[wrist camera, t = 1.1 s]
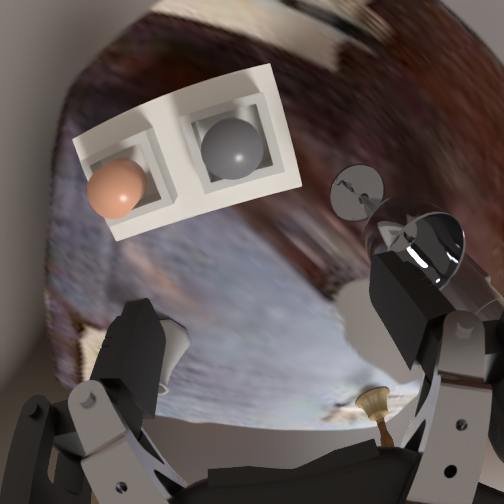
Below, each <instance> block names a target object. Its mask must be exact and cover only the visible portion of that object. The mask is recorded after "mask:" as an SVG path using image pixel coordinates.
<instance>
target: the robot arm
mask: <svg viewBox="0 0 504 504" xmlns="http://www.w3.org/2000/svg"><path fill="white" fill-rule="evenodd" d="M490 281H491V278H490V276H489V275H488V274H487V273H486V272H485V271H484V270H483V269H482V268H481V267H480V266H479V265H478V264H477V263H476V262H475V261H474V260H473V259H472V258H471V257H470V256H469V255H468V254H467V253H465V252H464V256H463V259H462V262H461V264H460V266H459V269H458V270H457V272H456V274H455V275H454V277H453V278H452V279H451V281H450V282H449V283H448V284H447V285H446V286H445V287H444V288H443V289H442V290H441V291H440V290H439V289H438V288H437V287H436V286H435V285H433V282H432V281H431V280H430V279H429V278H427V276H426V274H425V273H424V272H423V271H422V270H421V269H420V268H419V267H417V266H416V265H414V264H412V263H410V262H408V261H405V262H403V260H402V259H401V258H400V257H399V256H398V255H397V254H396V253H395V252H394V251H387V252H383V253H379V254H374V255H373V256H372V259H371V272H370V286H369V294H370V299H371V302H372V305H373V307H374V308H375V310H376V312H377V313H378V315H379V317H380V318H381V320H382V322H383V323H384V325H385V327H386V329H387V330H388V332H389V334H390V335H391V337H392V339H393V341H394V342H395V344H396V346H397V348H398V350H399V351H400V353H401V355H402V357H403V358H404V360H405V362H406V364H407V366H408V368H409V369H410V371H412V370H415V369H418V368H420V367H422V369H423V371H424V374H423V377H422V381H421V385H420V389H419V393H418V397H417V401H416V405H415V408H414V412H413V415H412V419H411V422H410V425H409V427H408V429H407V432H406V434H405V436H404V438H403V441H402V443H401V446H400V447H393V446H378V447H377V446H376V443H375V440H374V439H371V440H368V441H365V442H361V443H358V444H355V445H352V446H348V447H344V448H341V449H338V450H334V451H332V452H330V453H328V454H326V455H324V456H322V457H320V458H318V459H316V460H314V461H311V462H309V463H307V464H305V465H303V466H300V467H298V468H295V469H275V468H263V467H252V466H244V467H233V468H219V469H208V478H206V479H202V480H200V481H197V482H195V483H193V484H191V485H189V486H188V485H187V483H186V482H185V481H184V480H183V479H182V478H181V477H180V476H179V475H178V474H177V473H176V472H175V471H174V470H173V469H172V468H171V467H170V466H169V465H168V463H167V462H166V461H165V459H164V458H163V456H162V455H161V454H160V452H159V451H158V450H157V448H156V447H155V445H154V444H153V442H152V441H151V439H150V438H149V437H148V435H147V434H146V432H145V431H144V429H143V428H142V427H141V426H142V419H154V417H155V410H156V403H157V396H158V389H159V383H160V377H161V370H162V364H163V358H164V353H165V347H166V336H165V332H164V329H163V327H162V325H161V323H160V321H159V319H158V316H157V314H156V312H155V310H154V308H153V306H152V304H151V302H150V300H149V299H148V298H142V299H136V300H130V301H127V302H126V304H125V307H124V309H123V312H122V314H121V316H117V317H116V319H115V320H114V321H113V322H112V323H111V325H110V326H109V328H108V330H107V333H106V335H105V339H104V341H103V343H102V348H100V351H99V354H98V357H97V359H96V362H95V365H94V368H93V371H92V374H91V377H90V379H89V380H88V381H84V382H82V383H80V384H79V385H77V386H76V387H75V388H74V389H73V390H72V392H71V394H70V396H69V399H68V400H65V401H61V402H58V403H53V404H52V403H51V402H50V401H49V400H48V399H47V398H46V397H45V396H43V395H35V396H32V397H31V398H29V399H28V401H26V403H25V404H24V406H23V407H22V410H21V413H20V416H19V419H18V422H17V425H16V429H15V432H14V436H13V439H12V443H11V447H10V450H9V454H8V458H7V463H6V467H5V472H4V477H3V482H2V488H1V494H0V504H91V492H92V490H93V492H94V494H95V495H96V498H97V500H98V502H99V503H100V504H504V492H502V491H499V490H496V489H494V488H492V487H489V486H487V485H484V484H482V483H480V482H478V481H479V477H480V473H481V468H482V464H483V459H484V454H485V449H486V443H487V437H488V438H489V440H490V442H491V445H492V447H493V449H494V451H495V453H496V454H497V456H498V457H499V459H500V460H501V461H502V462H503V463H504V298H503V297H502V296H501V295H500V294H499V293H498V292H497V291H496V290H495V288H494V287H493V286H492V285H491V284H490ZM52 448H54V449H55V450H56V451H58V452H59V453H58V459H57V464H56V470H55V476H54V483H53V484H52V483H51V481H50V480H49V478H48V474H47V469H48V465H49V459H50V454H51V449H52Z"/></svg>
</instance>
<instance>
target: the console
mask: <svg viewBox="0 0 504 504" xmlns="http://www.w3.org/2000/svg"><path fill="white" fill-rule="evenodd" d="M232 117H233V118H240V119H243V120H246V121H247V122H249V123H250V124H252V125H253V126H254V128H255V129H256V130H257V132H258V133H259V135H260V137H261V139H262V142H263V157H262V160H261V162H260V164H259V166H258V167H257V168H256V169H255V171H253V172H252V173H251V174H250V175H248V176H246V177H244V178H241V179H236V180H228V179H223V178H220V177H218V176H216V175H214V174H213V173H211V172H210V171H209V170H208V169H207V167H206V166H205V164H204V162H203V160H202V156H201V144H202V140H203V138H204V136H205V134H206V133H207V132H208V130H209V129H210V128H211V127H212V126H213V125H214V124H215V123H217V122H218V121H220V120H222V119H225V118H232ZM72 140H73V143H74V145H75V148H76V151H77V153H78V156H79V159H80V163H81V165H82V168H83V170H84V173H85V175H86V178H87V180H88V182H89V179H90V177H91V176H92V174H93V173H94V172H95V171H97V170H98V169H100V168H101V167H103V166H105V165H106V164H108V163H110V162H111V161H113V160H115V159H119V158H127V159H131V160H133V161H135V162H136V163H138V164H139V165H140V166H141V168H142V169H143V171H144V173H145V176H146V180H147V186H146V191H145V193H144V195H143V197H142V198H141V199H140V200H139V202H138V203H137V204H136V205H135V206H134V207H133V209H132V210H131V211H130V212H129V213H128V214H127V215H126V216H124V217H122V218H119V219H108V218H105V217H104V218H105V220H106V222H107V225H108V227H110V230H111V232H112V234H113V236H114V238H115V240H116V241H119V240H122V239H125V238H128V237H131V236H134V235H137V234H140V233H143V232H146V231H149V230H152V229H155V228H158V227H161V226H164V225H167V224H170V223H174V222H177V221H180V220H183V219H186V218H190V217H193V216H196V215H200V214H203V213H206V212H210V211H213V210H216V209H220V208H223V207H227V206H230V205H234V204H237V203H241V202H244V201H248V200H251V199H255V198H259V197H262V196H266V195H270V194H274V193H277V192H281V191H285V190H289V189H293V188H297V187H301V186H302V184H301V179H300V175H299V170H298V166H297V162H296V158H295V154H294V149H293V145H292V141H291V137H290V134H289V130H288V126H287V122H286V118H285V114H284V111H283V107H282V103H281V100H280V96H279V93H278V89H277V86H276V82H275V79H274V75H273V72H272V69H271V65H270V63H269V64H265V65H260V66H256V67H252V68H248V69H244V70H240V71H236V72H233V73H229V74H226V75H222V76H219V77H215V78H212V79H209V80H206V81H203V82H200V83H197V84H194V85H191V86H188V87H185V88H182V89H179V90H177V91H174V92H171V93H169V94H166V95H164V96H161V97H158V98H156V99H154V100H151V101H149V102H146V103H144V104H142V105H139V106H137V107H135V108H133V109H130V110H128V111H126V112H124V113H122V114H120V115H118V116H116V117H114V118H111V119H109V120H107V121H105V122H104V123H102V124H100V125H98V126H96V127H94V128H92V129H90V130H88V131H87V132H85V133H83V134H81V135H79V136H78V137H76V138H74V139H72Z"/></svg>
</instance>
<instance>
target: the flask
mask: <svg viewBox="0 0 504 504" xmlns="http://www.w3.org/2000/svg"><path fill="white" fill-rule="evenodd" d="M159 321H160V323H161V325H162V327H163V329H164V332H165V336H166V347H165V353H164V358H163V364H162V370H161V377H160V383H159V389H158V395H164V394H166V393H168V392H169V388H168V387H167V384H168V379H169V377H170V374H171V372H172V370H173V368H174V367H175V365H176V364H177V362H178V361H179V359H180V358H181V356H182V355H183V354H184V352H185V351H186V350H187V348H188V347H189V345H190V344H191V340H190V338H189V335H188V333H187V330H186V329H185V328H183V327H181V326H180V325H178V324H177V323H175V322H174V321H172V320H171V319H168V320H159Z"/></svg>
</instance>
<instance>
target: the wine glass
mask: <svg viewBox="0 0 504 504" xmlns="http://www.w3.org/2000/svg"><path fill="white" fill-rule="evenodd" d="M384 197H385V185H384V181H383V179H382V177H381V175H380V174H379V173H378V172H377V171H376V170H375V169H373V168H372V167H369V166H367V165H353V166H351V167H348V168H346V169H345V170H343V171H342V172H341V173H340V174H339V175H338V176H337V177H336V179H335V180H334V182H333V184H332V187H331V191H330V201H331V205H332V208H333V210H334V211H335V213H336V214H337V215H338V216H339V217H340V218H342V219H344V220H346V221H349V222H360V221H364V220H366V219H368V221H367V223H366V227H365V233H364V238H365V247H366V251H367V255H368V258H369V261H370V263H371V259H372V256H373V255H374V254H379V253H383V252H387V251H394V252H395V253H396V254H397V255H398V256H399V257H400V258H401V259H402V260H403V262H405V261H408V262H410V263H412V264H414V265H416V266H417V267H419V268H420V269H421V270H422V271H423V272H424V273H425V274H426V276H427V278H429V279H430V280H431V281H432V282H433V285H435V286H436V287H437V288H438V289H439V290H440V291H441V290H442V289H443V288H444V287H445V286H446V285H447V284H448V283H449V282H450V281H451V279H452V278H453V277H454V275H455V274H456V272H457V270H458V269H459V266H460V264H461V262H462V259H463V256H464V251H465V234H464V231H463V228H462V226H461V224H460V223H459V221H458V220H457V219H455V218H454V217H453V216H452V215H451V214H449V213H448V212H447V211H445V210H444V209H442V208H441V207H439V206H437V205H436V204H434V203H432V202H430V201H427V200H425V199H422V198H419V197H415V196H410V195H397V196H392V197H390V198H388V199H386V200H384ZM383 200H384V201H383Z"/></svg>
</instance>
